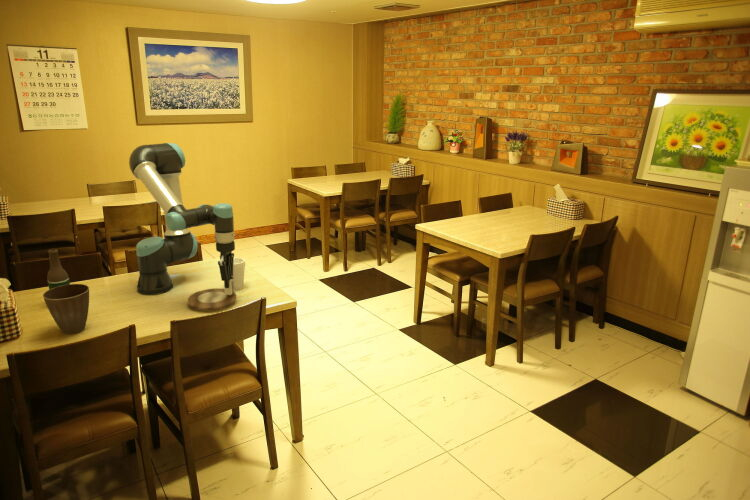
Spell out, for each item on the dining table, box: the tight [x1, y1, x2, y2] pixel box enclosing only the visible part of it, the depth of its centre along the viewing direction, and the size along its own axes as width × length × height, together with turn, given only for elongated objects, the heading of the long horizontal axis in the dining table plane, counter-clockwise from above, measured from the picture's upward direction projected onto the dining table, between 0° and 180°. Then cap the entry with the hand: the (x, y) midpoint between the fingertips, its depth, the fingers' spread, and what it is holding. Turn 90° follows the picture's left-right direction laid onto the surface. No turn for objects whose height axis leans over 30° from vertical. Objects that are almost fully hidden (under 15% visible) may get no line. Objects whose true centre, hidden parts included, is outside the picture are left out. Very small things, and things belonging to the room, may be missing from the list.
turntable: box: [187, 281, 237, 311], centre depth 219 cm, size 20×20×8 cm
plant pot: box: [42, 283, 90, 335], centre depth 193 cm, size 15×15×16 cm
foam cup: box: [231, 257, 246, 291], centre depth 237 cm, size 10×9×13 cm
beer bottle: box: [46, 248, 71, 290], centre depth 215 cm, size 8×8×24 cm
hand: (228, 294), depth 219 cm, fingers closed
